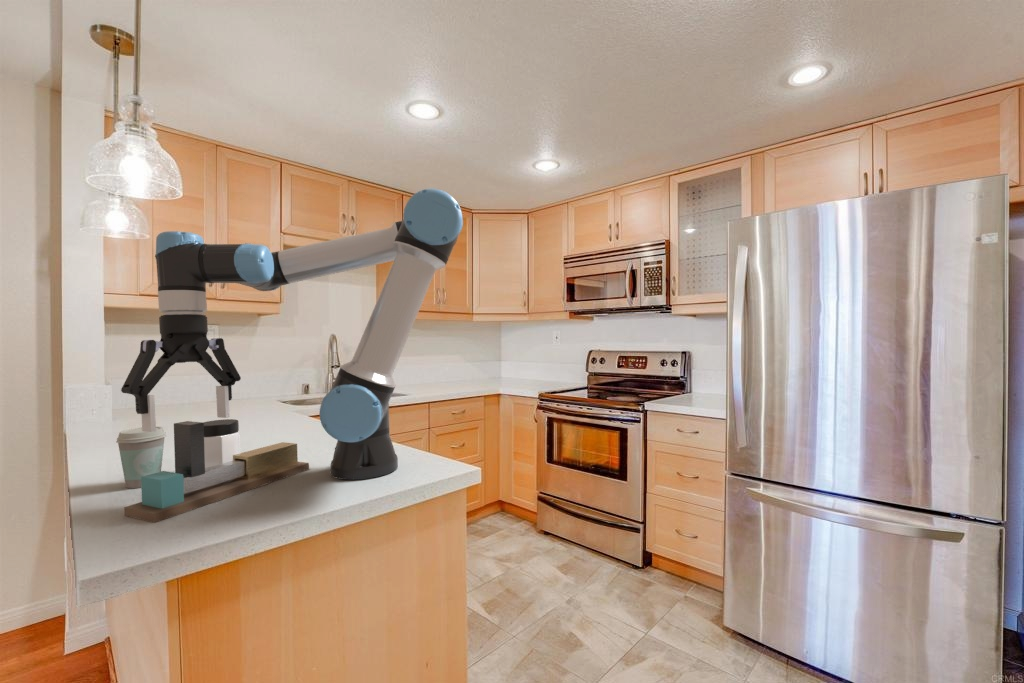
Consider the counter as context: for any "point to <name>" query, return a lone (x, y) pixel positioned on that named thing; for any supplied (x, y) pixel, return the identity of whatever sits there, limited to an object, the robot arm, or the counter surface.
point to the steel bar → (200, 459)
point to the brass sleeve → (268, 459)
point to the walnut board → (210, 494)
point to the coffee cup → (140, 454)
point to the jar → (221, 441)
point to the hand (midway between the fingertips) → (188, 424)
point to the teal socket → (162, 489)
